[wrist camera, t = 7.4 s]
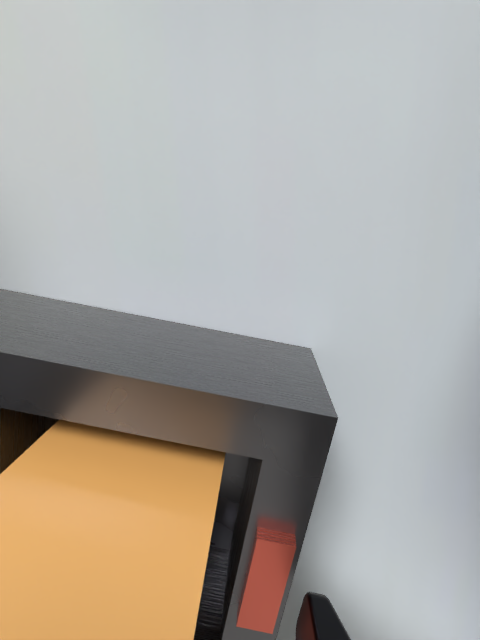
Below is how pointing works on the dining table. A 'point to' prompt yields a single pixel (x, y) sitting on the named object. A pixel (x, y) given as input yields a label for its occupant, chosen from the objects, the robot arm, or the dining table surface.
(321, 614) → the robot arm
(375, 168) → the dining table surface
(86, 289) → the dining table surface
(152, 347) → the strip
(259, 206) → the dining table surface
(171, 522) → the plug
